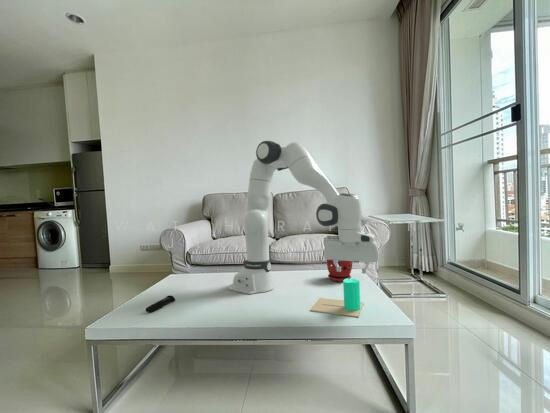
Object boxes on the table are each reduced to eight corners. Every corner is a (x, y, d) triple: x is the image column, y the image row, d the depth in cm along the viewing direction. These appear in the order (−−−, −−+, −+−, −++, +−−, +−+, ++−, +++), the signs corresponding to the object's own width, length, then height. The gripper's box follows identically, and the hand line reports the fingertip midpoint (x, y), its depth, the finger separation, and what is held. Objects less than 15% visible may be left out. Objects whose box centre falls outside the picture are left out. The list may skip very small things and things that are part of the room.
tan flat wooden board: (309, 311, 107) (309, 309, 107) (320, 298, 120) (319, 297, 120) (358, 317, 99) (358, 316, 99) (363, 303, 112) (363, 302, 112)
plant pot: (328, 283, 141) (327, 259, 141) (326, 276, 154) (326, 254, 154) (354, 283, 140) (353, 259, 139) (351, 275, 153) (350, 254, 152)
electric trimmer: (143, 314, 112) (142, 306, 112) (168, 300, 127) (168, 293, 127) (150, 315, 111) (150, 307, 111) (176, 301, 126) (175, 294, 125)
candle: (361, 311, 104) (360, 278, 104) (344, 310, 105) (343, 278, 105) (359, 305, 110) (358, 274, 109) (343, 304, 111) (342, 274, 110)
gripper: (321, 236, 108) (322, 272, 108) (377, 237, 99) (378, 276, 99) (325, 234, 114) (326, 268, 114) (379, 235, 105) (380, 272, 105)
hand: (351, 272), depth 107 cm, fingers open, 8 cm apart
